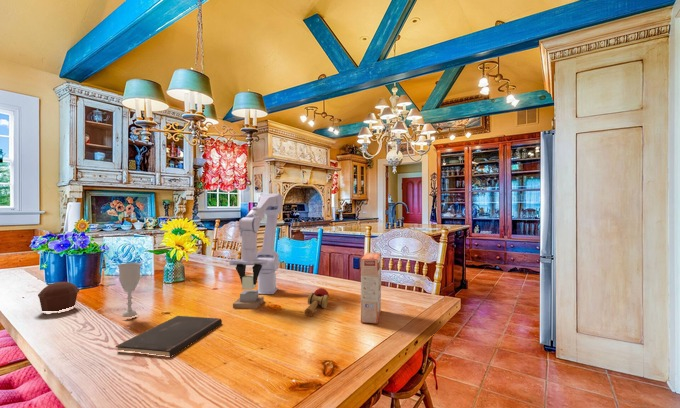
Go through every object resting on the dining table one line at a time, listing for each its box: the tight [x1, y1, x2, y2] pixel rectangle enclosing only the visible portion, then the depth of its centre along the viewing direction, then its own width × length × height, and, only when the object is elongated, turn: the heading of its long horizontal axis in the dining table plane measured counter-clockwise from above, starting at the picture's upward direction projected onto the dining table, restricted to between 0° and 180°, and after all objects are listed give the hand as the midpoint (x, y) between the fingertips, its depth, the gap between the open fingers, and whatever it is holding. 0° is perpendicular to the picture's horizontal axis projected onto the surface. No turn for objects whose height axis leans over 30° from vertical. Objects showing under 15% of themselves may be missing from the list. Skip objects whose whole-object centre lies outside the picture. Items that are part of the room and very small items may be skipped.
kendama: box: [304, 288, 330, 318], centre depth 115 cm, size 8×6×18 cm
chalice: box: [117, 262, 143, 317], centre depth 106 cm, size 7×7×18 cm
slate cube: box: [239, 289, 259, 302], centre depth 120 cm, size 6×6×3 cm
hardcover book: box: [115, 315, 223, 358], centre depth 90 cm, size 16×23×2 cm
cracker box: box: [360, 252, 382, 325], centre depth 107 cm, size 14×6×21 cm, turn 168°
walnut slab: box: [232, 296, 265, 310], centre depth 120 cm, size 9×9×2 cm
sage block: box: [241, 274, 257, 290], centre depth 120 cm, size 4×4×4 cm
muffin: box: [37, 281, 80, 312], centre depth 114 cm, size 12×11×10 cm
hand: (249, 284), depth 120 cm, fingers closed on sage block, 4 cm apart
